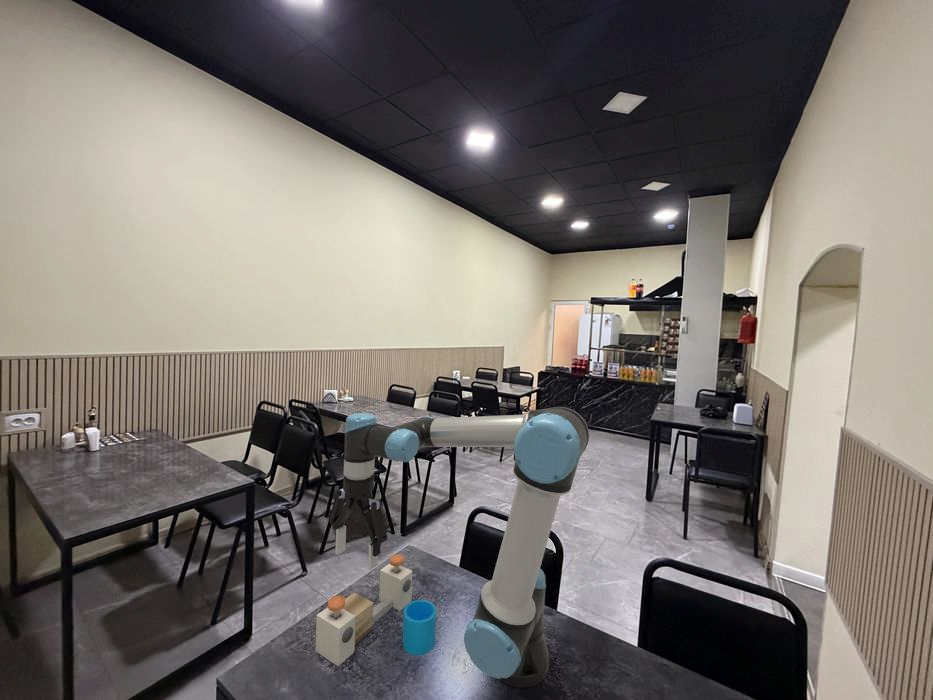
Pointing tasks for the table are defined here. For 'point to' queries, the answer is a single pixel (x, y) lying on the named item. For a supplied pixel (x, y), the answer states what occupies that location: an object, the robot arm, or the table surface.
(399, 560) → the plunger
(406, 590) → the cabinet
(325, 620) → the cabinet
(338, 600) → the plunger
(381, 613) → the rail
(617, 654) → the table surface
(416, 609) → the mug
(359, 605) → the block
